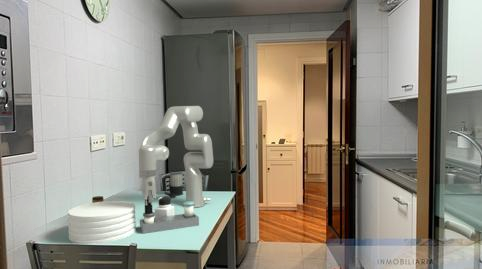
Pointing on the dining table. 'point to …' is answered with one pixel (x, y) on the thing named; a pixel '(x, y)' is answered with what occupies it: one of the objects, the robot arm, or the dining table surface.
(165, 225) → the mount
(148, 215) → the knob
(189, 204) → the knob
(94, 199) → the condiment
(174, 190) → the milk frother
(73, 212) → the plate stack
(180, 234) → the dining table surface
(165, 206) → the medicine bottle
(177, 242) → the dining table surface
